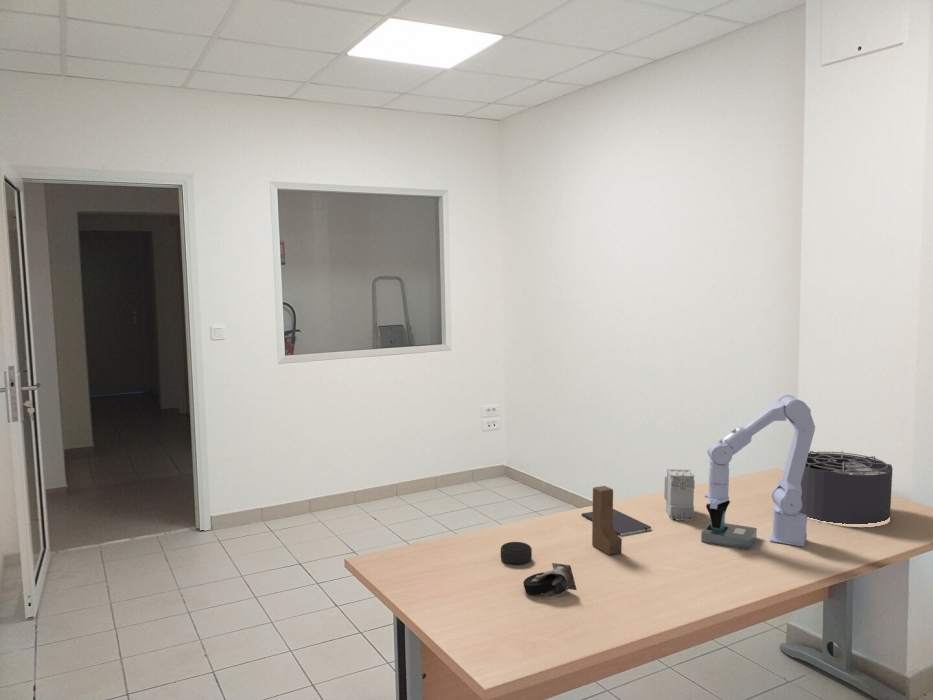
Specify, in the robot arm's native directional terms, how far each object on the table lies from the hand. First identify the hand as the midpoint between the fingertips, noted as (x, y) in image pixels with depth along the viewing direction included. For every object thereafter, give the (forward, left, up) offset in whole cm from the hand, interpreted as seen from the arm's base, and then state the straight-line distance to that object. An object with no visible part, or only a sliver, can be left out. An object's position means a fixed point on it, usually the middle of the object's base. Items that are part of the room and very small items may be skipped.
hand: (717, 525), depth 227 cm
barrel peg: (0, 0, -1) cm, 1 cm away
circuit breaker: (+17, -18, -4) cm, 25 cm away
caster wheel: (+30, +62, -4) cm, 69 cm away
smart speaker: (+47, +46, -4) cm, 66 cm away
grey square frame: (-3, 0, -4) cm, 5 cm away
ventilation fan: (-31, -45, -4) cm, 55 cm away
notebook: (+32, +2, -5) cm, 32 cm away
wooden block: (+27, +26, -4) cm, 37 cm away
